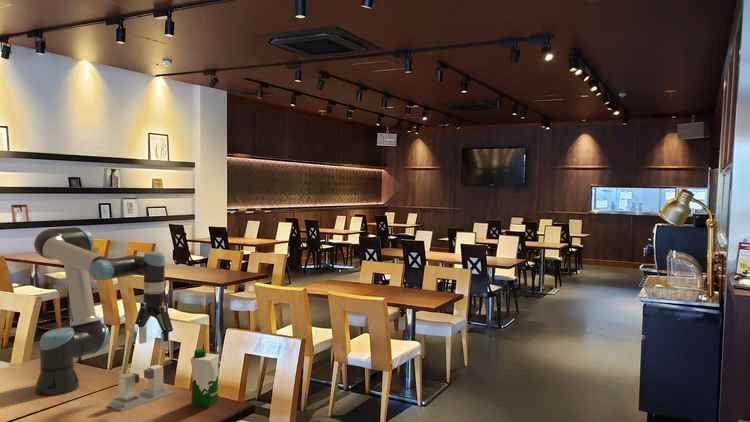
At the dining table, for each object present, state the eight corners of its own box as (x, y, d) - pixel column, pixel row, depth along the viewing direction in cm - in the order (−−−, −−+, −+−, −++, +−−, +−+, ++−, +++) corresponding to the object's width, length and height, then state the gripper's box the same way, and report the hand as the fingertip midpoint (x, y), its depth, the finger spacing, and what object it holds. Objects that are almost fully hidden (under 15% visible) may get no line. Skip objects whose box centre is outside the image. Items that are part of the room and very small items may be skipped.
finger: (156, 389, 220) (156, 364, 219) (163, 391, 218) (163, 366, 217) (143, 394, 215) (143, 368, 214) (149, 396, 213) (149, 370, 212)
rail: (107, 406, 205) (107, 376, 204) (159, 389, 223) (159, 362, 223) (120, 411, 200) (120, 381, 200) (172, 393, 219) (172, 365, 218)
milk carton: (199, 398, 214) (200, 347, 213) (221, 400, 212) (221, 348, 211) (187, 407, 205) (188, 353, 205) (210, 409, 203) (210, 355, 203)
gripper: (126, 289, 220) (125, 342, 220) (166, 297, 206) (165, 354, 207) (143, 287, 226) (142, 338, 227) (183, 294, 212) (182, 349, 213)
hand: (153, 346), depth 217 cm, fingers open, 13 cm apart
